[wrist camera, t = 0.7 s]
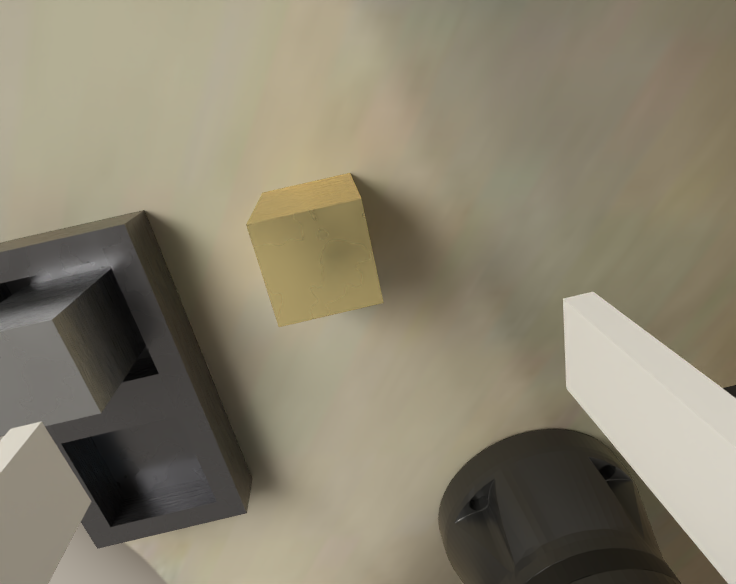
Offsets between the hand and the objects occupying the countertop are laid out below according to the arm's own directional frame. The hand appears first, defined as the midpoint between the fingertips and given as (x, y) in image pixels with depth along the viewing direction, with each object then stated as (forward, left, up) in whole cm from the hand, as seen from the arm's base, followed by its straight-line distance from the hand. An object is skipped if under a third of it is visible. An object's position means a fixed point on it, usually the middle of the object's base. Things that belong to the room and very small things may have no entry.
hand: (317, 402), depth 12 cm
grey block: (-2, +14, -16) cm, 22 cm away
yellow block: (0, 0, -17) cm, 17 cm away
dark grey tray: (-7, +14, -17) cm, 23 cm away
